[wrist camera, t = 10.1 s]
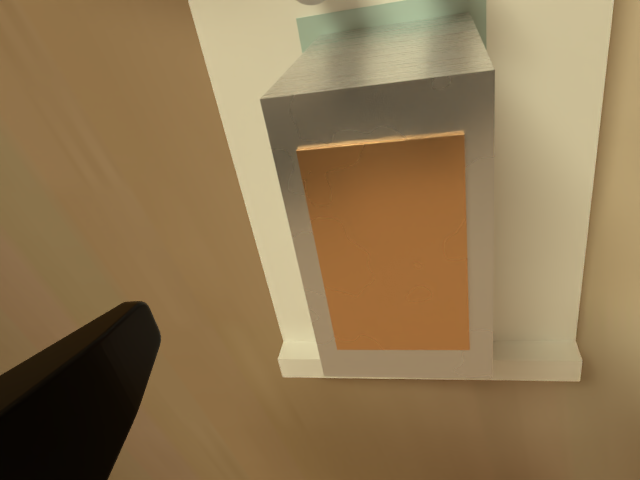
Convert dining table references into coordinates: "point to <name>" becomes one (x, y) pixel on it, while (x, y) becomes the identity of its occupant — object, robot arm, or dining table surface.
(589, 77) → the pin tray
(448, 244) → the block
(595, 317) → the dining table surface
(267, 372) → the dining table surface
